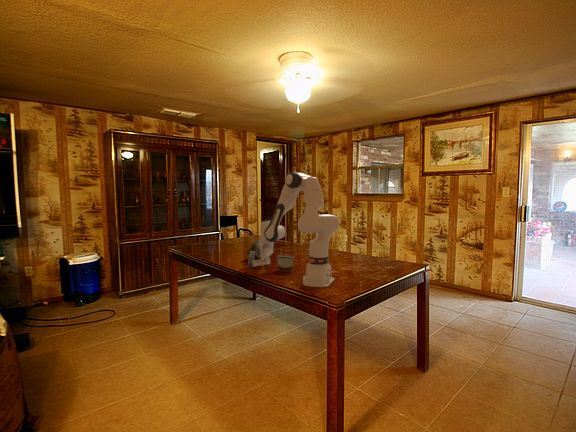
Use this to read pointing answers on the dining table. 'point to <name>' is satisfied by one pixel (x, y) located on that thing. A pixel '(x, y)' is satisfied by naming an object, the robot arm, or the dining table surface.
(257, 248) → the stone
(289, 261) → the food container
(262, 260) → the gate leaf
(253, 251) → the latch stile
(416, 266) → the dining table surface
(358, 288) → the dining table surface
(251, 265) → the hinge post
